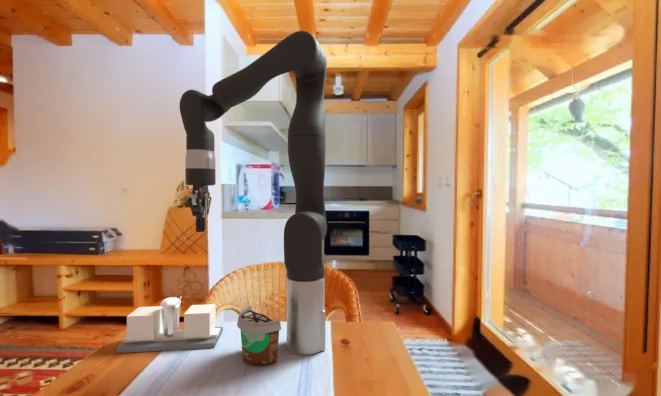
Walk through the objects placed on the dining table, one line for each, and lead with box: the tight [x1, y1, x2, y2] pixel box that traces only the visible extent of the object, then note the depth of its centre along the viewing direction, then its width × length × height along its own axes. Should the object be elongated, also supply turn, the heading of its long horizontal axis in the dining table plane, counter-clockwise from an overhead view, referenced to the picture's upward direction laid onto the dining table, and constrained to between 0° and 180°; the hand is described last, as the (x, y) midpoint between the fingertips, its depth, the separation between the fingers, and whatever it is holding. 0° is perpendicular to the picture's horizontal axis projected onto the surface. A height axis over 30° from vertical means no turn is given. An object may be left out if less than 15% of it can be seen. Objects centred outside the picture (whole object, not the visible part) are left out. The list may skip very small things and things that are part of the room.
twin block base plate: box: [116, 303, 224, 354], centre depth 78 cm, size 22×9×8 cm, turn 97°
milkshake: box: [159, 295, 183, 337], centre depth 77 cm, size 4×5×10 cm
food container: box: [236, 305, 282, 368], centre depth 70 cm, size 12×6×10 cm, turn 47°
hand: (200, 231), depth 84 cm, fingers closed
